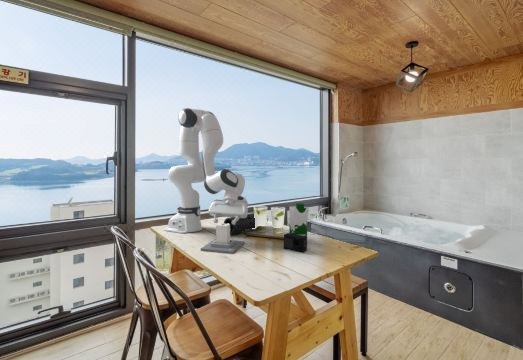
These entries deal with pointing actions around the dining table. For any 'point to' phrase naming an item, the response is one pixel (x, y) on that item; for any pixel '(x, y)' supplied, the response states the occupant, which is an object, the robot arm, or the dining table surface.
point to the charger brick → (223, 233)
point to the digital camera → (295, 242)
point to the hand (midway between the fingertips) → (224, 223)
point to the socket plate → (223, 246)
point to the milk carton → (298, 219)
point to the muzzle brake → (241, 224)
